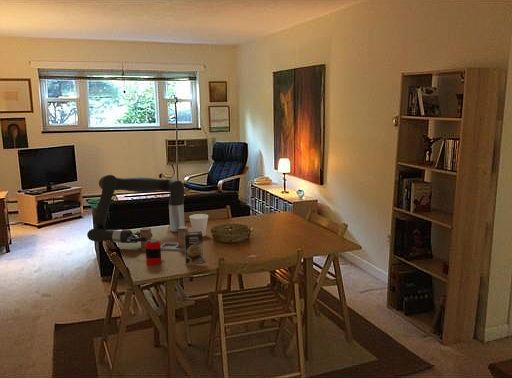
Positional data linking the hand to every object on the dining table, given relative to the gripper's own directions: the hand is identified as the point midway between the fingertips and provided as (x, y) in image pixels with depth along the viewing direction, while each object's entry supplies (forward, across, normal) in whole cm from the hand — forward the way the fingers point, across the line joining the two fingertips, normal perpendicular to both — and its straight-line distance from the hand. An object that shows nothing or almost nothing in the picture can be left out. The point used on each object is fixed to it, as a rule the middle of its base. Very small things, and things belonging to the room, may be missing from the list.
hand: (149, 237), depth 265 cm
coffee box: (+32, -18, +7) cm, 38 cm away
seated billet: (+20, 0, +6) cm, 21 cm away
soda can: (+11, -21, +7) cm, 25 cm away
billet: (-2, 0, +7) cm, 7 cm away
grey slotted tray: (+16, 0, +7) cm, 18 cm away
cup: (+20, +30, +7) cm, 37 cm away
